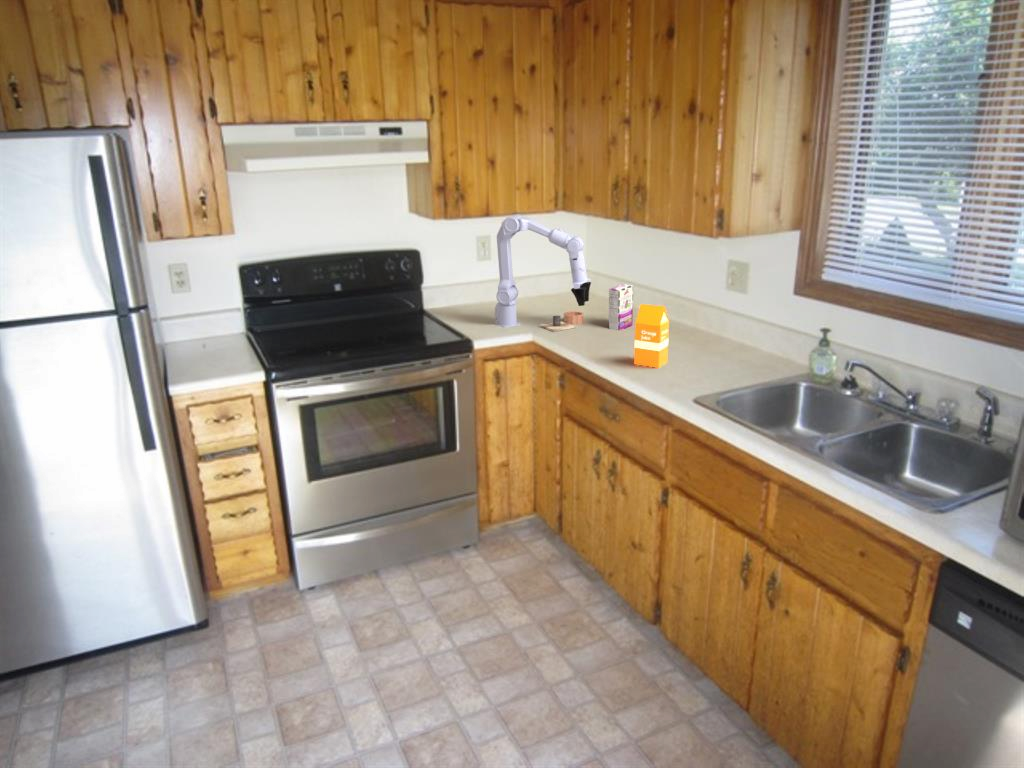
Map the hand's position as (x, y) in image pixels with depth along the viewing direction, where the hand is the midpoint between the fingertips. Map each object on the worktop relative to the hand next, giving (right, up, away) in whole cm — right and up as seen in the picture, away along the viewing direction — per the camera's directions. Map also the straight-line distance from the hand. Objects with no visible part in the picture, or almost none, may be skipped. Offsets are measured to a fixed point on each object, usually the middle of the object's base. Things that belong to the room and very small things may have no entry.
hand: (583, 303), depth 288 cm
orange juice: (+19, -25, -40) cm, 51 cm away
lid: (-10, -9, +6) cm, 15 cm away
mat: (-10, -9, +6) cm, 15 cm away
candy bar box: (+15, -9, +5) cm, 18 cm away
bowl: (-3, -7, +14) cm, 16 cm away
